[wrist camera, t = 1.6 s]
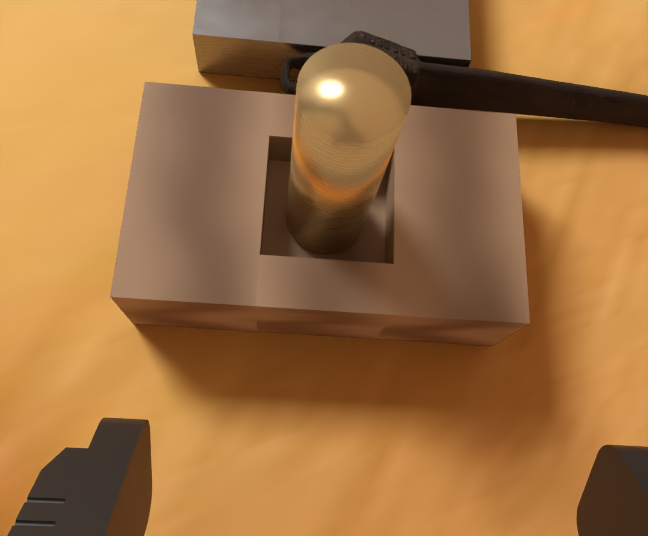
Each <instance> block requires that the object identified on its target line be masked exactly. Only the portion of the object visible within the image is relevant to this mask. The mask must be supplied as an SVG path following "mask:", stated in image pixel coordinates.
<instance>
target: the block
mask: <svg viewBox="0 0 648 536" xmlns="http://www.w3.org/2000/svg"><path fill="white" fill-rule="evenodd" d="M354 31H364V32H367V33H370V34H372V35H375V36H378V37H381V38H384V39H386V40H389V41H392V42H395V43H397V44H399V45H401V46H404V47H407V48H410V49H413V50H414V51H416V54H417V57H418V59H419V60H420V61H421V62H425V63H433V64H442V65H451V66H459V67H468V66H469V64H470V62H471V43H470V19H469V0H197V5H196V12H195V19H194V27H193V40H194V46H195V52H196V58H197V64H198V70H199V72H206V73H218V74H229V75H240V76H251V77H262V78H273V79H281V70H282V67H283V64H284V61H285V60H286V59H287V58H289V57H291V56H295V55H299V54H304V53H316V52H318V51H319V50H321V49H323V48H325V47H328V46H331V45H334V44H339V43H341V42H342V41H343V40H344V39H345V38H347V37H348V36H349V35H350V34H351V33H353V32H354ZM299 73H300V70H299V69H295V68H292V69H291V71H290V75H289V80H296V81H297V79H298V76H299Z"/></svg>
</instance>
